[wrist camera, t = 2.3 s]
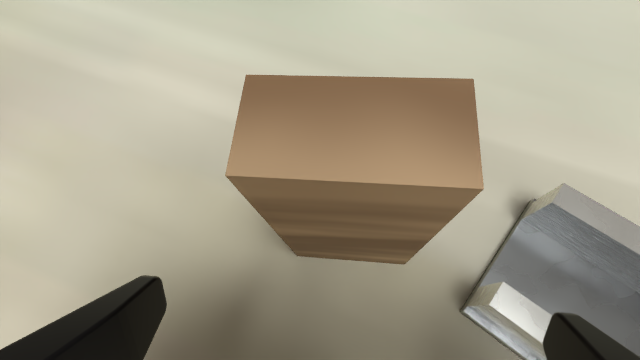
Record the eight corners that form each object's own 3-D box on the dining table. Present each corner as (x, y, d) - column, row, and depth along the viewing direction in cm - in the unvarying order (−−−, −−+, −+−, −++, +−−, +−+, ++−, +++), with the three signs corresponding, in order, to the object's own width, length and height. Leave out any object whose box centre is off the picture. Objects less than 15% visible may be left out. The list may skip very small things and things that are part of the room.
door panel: (404, 264, 19) (483, 188, 8) (297, 255, 19) (225, 175, 8) (404, 211, 20) (473, 78, 9) (302, 205, 20) (246, 74, 9)
